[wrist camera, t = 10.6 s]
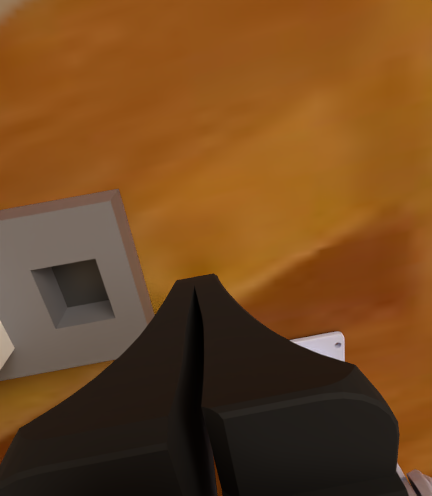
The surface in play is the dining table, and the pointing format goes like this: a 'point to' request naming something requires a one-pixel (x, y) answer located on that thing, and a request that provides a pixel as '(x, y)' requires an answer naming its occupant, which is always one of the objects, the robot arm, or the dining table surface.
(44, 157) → the dining table surface
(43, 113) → the dining table surface
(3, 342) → the plug
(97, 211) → the socket plate
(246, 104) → the dining table surface
